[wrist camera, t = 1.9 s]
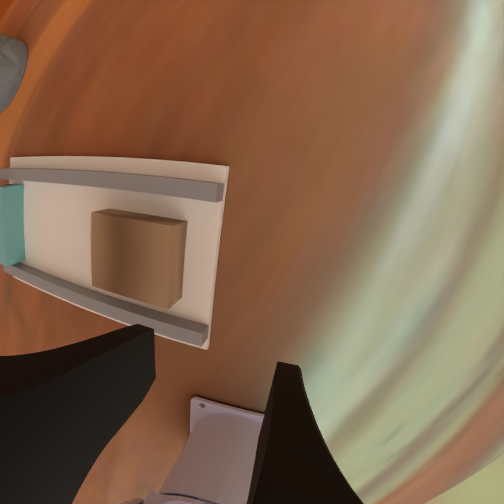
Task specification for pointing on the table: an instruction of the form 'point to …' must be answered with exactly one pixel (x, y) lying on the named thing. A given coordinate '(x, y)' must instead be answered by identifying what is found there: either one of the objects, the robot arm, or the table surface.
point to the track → (79, 231)
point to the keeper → (138, 255)
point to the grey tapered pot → (11, 68)
